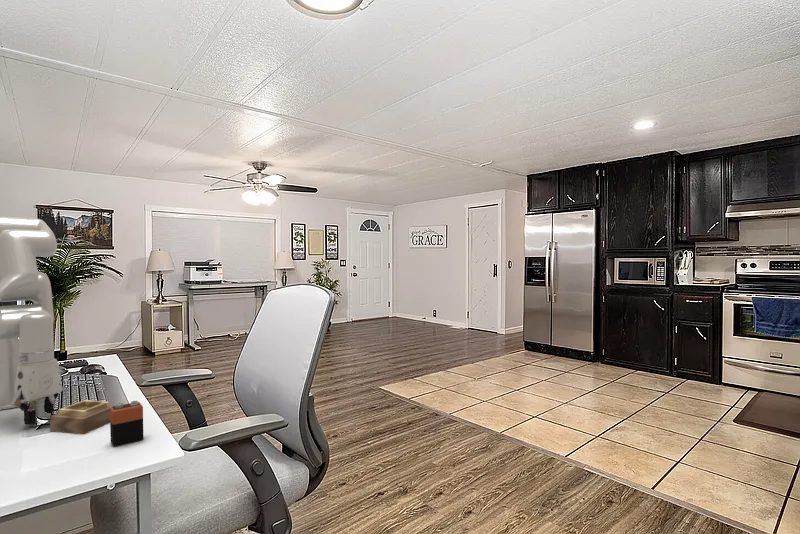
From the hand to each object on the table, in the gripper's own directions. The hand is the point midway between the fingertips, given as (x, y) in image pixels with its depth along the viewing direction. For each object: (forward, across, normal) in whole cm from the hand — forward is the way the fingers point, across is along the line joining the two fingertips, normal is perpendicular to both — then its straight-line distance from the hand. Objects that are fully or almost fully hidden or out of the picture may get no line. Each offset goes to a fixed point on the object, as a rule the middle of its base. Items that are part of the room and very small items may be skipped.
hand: (39, 420), depth 129 cm
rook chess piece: (+1, 0, 0) cm, 1 cm away
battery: (+1, -5, -34) cm, 34 cm away
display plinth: (+1, +2, -14) cm, 14 cm away
